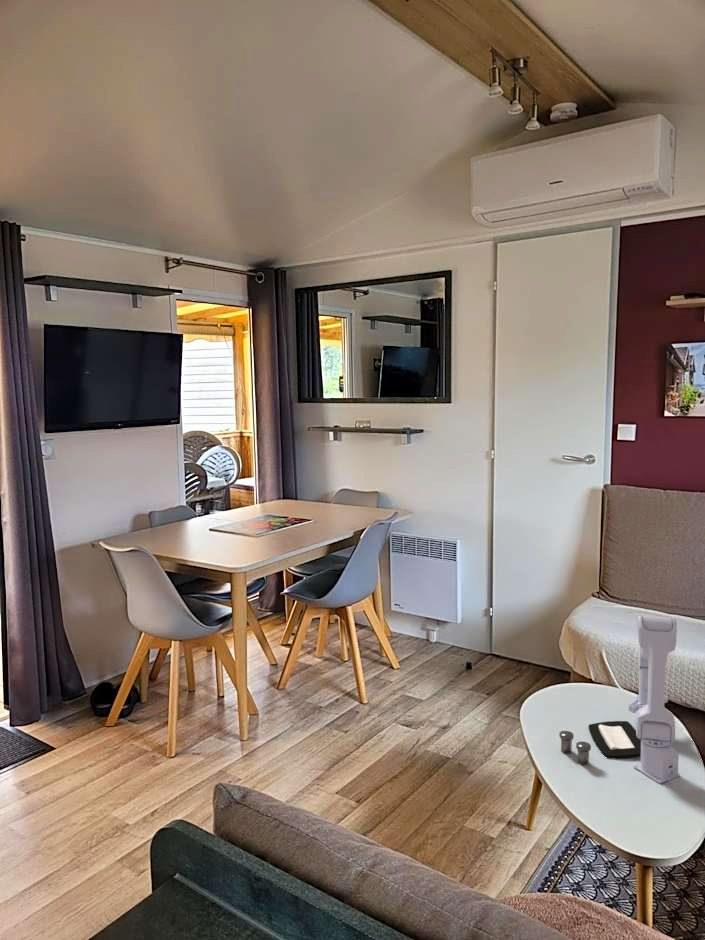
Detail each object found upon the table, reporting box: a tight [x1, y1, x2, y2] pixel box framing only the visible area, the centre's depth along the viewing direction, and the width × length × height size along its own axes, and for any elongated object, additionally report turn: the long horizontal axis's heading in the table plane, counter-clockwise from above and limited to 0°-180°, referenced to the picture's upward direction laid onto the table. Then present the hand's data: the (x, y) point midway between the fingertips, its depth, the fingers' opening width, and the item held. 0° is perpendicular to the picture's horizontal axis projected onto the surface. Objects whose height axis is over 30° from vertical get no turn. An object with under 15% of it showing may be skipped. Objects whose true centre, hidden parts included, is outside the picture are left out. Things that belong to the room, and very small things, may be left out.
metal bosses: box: [558, 730, 592, 766], centre depth 208 cm, size 11×4×5 cm, turn 26°
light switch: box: [588, 720, 641, 760], centre depth 215 cm, size 20×3×14 cm
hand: (647, 728), depth 220 cm, fingers closed
